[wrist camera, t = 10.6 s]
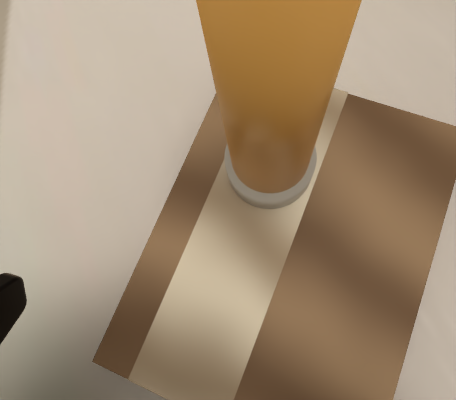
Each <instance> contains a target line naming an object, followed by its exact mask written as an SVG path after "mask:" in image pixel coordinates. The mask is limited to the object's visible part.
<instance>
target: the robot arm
mask: <svg viewBox="0 0 456 400" xmlns="http://www.w3.org/2000/svg"><path fill="white" fill-rule="evenodd" d="M26 302H27V299H26V293H25V288H24V282H23V279H22V278H21V277H19V276H16V275H13V274H10V273H3V274H0V344H1V343H2V341H3V340H4V338H5V337H6V335H7V334H8V333H9V331H10V330H11V328H12V327H13V325H14V324H15V322H16V321H17V319H18V318H19V316H20V315H21V314H22V312H23V311H24V309H25V306H26Z"/></svg>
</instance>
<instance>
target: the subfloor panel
mask: <svg viewBox="0 0 456 400" xmlns="http://www.w3.org/2000/svg"><path fill="white" fill-rule="evenodd" d="M226 145H227V139H226V135H225V130H224V126H223V121H222V117H221V112H220V107H219V103H218V98H217V94H215V97H214V99H213V101H212V103H211V105H210V107H209V109H208V112H207V114H206V116H205V118H204V120H203V122H202V125H201V127H200V129H199V131H198V133H197V135H196V138H195V140H194V142H193V144H192V146H191V148H190V151H189V153H188V155H187V157H186V159H185V161H184V164H183V166H182V168H181V170H180V172H179V174H178V177H177V179H176V181H175V183H174V185H173V187H172V190H171V192H170V194H169V196H168V198H167V200H166V203H165V205H164V207H163V209H162V211H161V213H160V216H159V218H158V220H157V222H156V224H155V226H154V229H153V231H152V233H151V235H150V237H149V239H148V242H147V244H146V246H145V248H144V250H143V252H142V255H141V257H140V259H139V261H138V263H137V265H136V268H135V270H134V272H133V274H132V276H131V278H130V281H129V283H128V285H127V287H126V289H125V291H124V294H123V296H122V298H121V300H120V302H119V304H118V307H117V309H116V311H115V313H114V315H113V317H112V320H111V322H110V324H109V326H108V328H107V330H106V333H105V335H104V337H103V339H102V341H101V343H100V346H99V348H98V350H97V352H96V354H95V356H94V359H93V361H92V362H94V363H96V364H98V365H100V366H102V367H104V368H106V369H108V370H110V371H112V372H114V373H116V374H118V375H120V376H122V377H124V378H126V379H128V380H129V381H131V382H133V383H135V384H137V385H139V386H141V387H143V388H145V389H147V390H149V391H151V392H153V393H155V394H157V395H159V396H161V397H163V398H165V399H167V400H393V397H394V394H395V390H396V387H397V383H398V380H399V376H400V373H401V369H402V366H403V362H404V358H405V355H406V351H407V348H408V344H409V341H410V337H411V334H412V330H413V327H414V323H415V320H416V316H417V313H418V309H419V306H420V302H421V299H422V295H423V292H424V288H425V285H426V281H427V278H428V274H429V271H430V267H431V264H432V260H433V257H434V253H435V250H436V246H437V243H438V239H439V236H440V232H441V229H442V225H443V222H444V218H445V215H446V211H447V208H448V204H449V201H450V197H451V194H452V190H453V187H454V183H455V180H456V126H453V125H449V124H446V123H443V122H440V121H436V120H433V119H430V118H426V117H423V116H420V115H417V114H413V113H410V112H407V111H403V110H400V109H397V108H393V107H390V106H387V105H384V104H380V103H377V102H374V101H370V100H367V99H364V98H360V97H357V96H354V95H351V94H348V92H345V91H341V90H338V89H335V88H333V91H332V94H331V97H330V100H329V103H328V106H327V110H326V113H325V116H324V119H323V122H322V125H321V128H320V131H319V135H318V138H317V141H316V144H315V147H316V152H317V161H316V167H315V170H314V173H313V176H312V178H311V181H310V184H309V186H308V188H307V189H306V191H305V192H304V193H303V195H302V196H301V197H300V198H299V199H297V200H296V201H295V202H293V203H291V204H290V205H287V206H285V207H281V208H276V209H263V208H258V207H255V206H252V205H250V204H248V203H247V202H245V201H244V200H242V199H241V198H240V197H239V196H238V195H237V194H236V193H235V191H234V190H233V188H232V186H231V184H230V182H229V178H228V174H227V171H226V167H225V160H224V155H225V148H226Z"/></svg>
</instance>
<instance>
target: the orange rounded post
mask: <svg viewBox="0 0 456 400" xmlns="http://www.w3.org/2000/svg"><path fill="white" fill-rule="evenodd" d="M196 2H197V6H198V11H199V15H200V20H201V25H202V29H203V34H204V38H205V43H206V48H207V52H208V57H209V61H210V66H211V71H212V75H213V80H214V84H215V89H216V94H217V98H218V103H219V107H220V112H221V117H222V121H223V126H224V130H225V135H226V139H227V145H226V148H225V155H224V160H225V167H226V171H227V174H228V178H229V182H230V184H231V186H232V188H233V190H234V191H235V193H236V194H237V195H238V196H239V197H240V198H241V199H242V200H244V201H245V202H247V203H248V204H250V205H252V206H255V207H258V208H263V209H276V208H281V207H285V206H287V205H290V204H291V203H293V202H295V201H296V200H297V199H299V198H300V197H301V196H302V195H303V193H304V192H305V191H306V189H307V188H308V186H309V184H310V181H311V178H312V176H313V173H314V170H315V167H316V161H317V152H316V147H315V144H316V141H317V138H318V135H319V131H320V128H321V125H322V122H323V119H324V116H325V113H326V110H327V106H328V103H329V100H330V97H331V94H332V91H333V88H334V85H335V82H336V78H337V75H338V72H339V69H340V66H341V63H342V60H343V57H344V53H345V50H346V47H347V44H348V41H349V38H350V35H351V32H352V28H353V25H354V22H355V19H356V16H357V13H358V10H359V7H360V3H361V0H196Z"/></svg>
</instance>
